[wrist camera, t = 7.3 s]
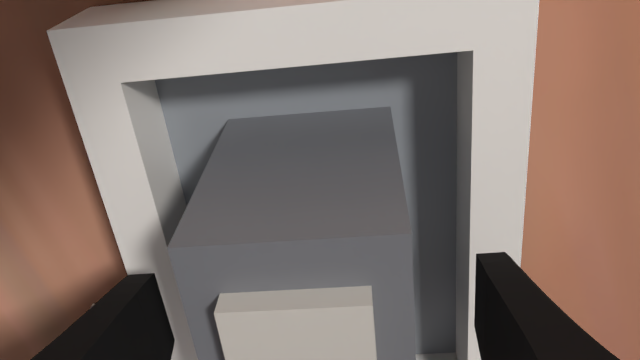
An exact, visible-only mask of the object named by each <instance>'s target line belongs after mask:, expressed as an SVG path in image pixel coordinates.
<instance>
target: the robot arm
mask: <svg viewBox="0 0 640 360" xmlns="http://www.w3.org/2000/svg"><path fill="white" fill-rule="evenodd" d="M474 327H475V332H476V337H477V342H478V347H479V352H480V356H481V360H620V359H618V358H617V357H616V356H614V355H613V354H612V353H610V352H609V351H608V350H607V349H605V348H604V347H603V346H602V345H601V344H599V343H598V342H597V341H596V340H595V339H593V338H592V337H591V336H590V335H589V334H588V333H586V332H585V331H584V330H583V329H582V328H581V327H580V326H578V325H577V324H576V323H575V322H574V321H573V320H572V319H571V318H570V317H569V316H568V315H566V314H565V313H564V312H563V311H562V310H561V309H560V308H559V307H558V306H557V305H556V304H555V303H554V302H553V301H552V300H551V299H550V298H549V297H548V296H547V295H546V294H545V293H544V292H543V291H542V290H541V289H540V288H539V287H538V286H537V285H536V284H535V283H534V282H533V281H532V280H531V279H530V278H529V277H528V276H527V274H526V273H525V272H524V271H523V270H522V269H521V268H520V267H519V266H518V265H517V264H516V262H515V261H514V260H513V259H512V258H511V257H510V256H509V255H508V254H507V253H506V252H496V253H479V254H476V276H475V316H474ZM174 342H175V339H174V336H173V332H172V329H171V326H170V323H169V319H168V316H167V313H166V309H165V306H164V303H163V300H162V296H161V293H160V290H159V286H158V283H157V280H156V277H155V273H148V274H132V275H128V276H127V277H125V278H124V279H123V280H122V281H120V282H119V283H118V284H117V285H116V286H115V287H114V288H112V289H111V290H110V291H109V292H108V293H107V294H106V295H105V296H104V297H102V298H101V299H100V300H99V301H98V302H97V303H96V304H95V305H94V306H92V307H91V308H90V309H89V310H88V311H87V312H86V313H85V314H84V315H82V316H81V317H80V318H79V319H78V320H77V321H76V322H75V323H73V324H72V325H71V326H70V327H69V328H68V329H67V330H66V331H64V332H63V333H62V334H61V335H60V336H59V337H57V338H56V339H55V340H54V341H53V342H51V343H50V344H49V345H48V346H46V347H45V348H44V349H43V350H42V351H40V352H39V353H38V354H37V355H36V356H34V357H33V358H32V359H31V360H171V357H172V352H173V347H174Z"/></svg>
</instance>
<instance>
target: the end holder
mask: <svg viewBox="0 0 640 360" xmlns="http://www.w3.org/2000/svg"><path fill="white" fill-rule="evenodd" d="M538 12H539V0H152V1H143V2H133V3H124V4H114V5H105V6H95V7H89V8H87V9H85V10H84V11H82V12H80V13H78V14H76V15H74V16H73V17H71V18H69V19H67V20H65V21H63V22H62V23H60V24H58V25H56V26H54V27H52V28H51V29H49V30H47V34H48V37H49V40H50V43H51V46H52V49H53V52H54V55H55V58H56V61H57V64H58V67H59V70H60V73H61V76H62V79H63V82H64V85H65V88H66V91H67V94H68V97H69V100H70V103H71V106H72V109H73V112H74V115H75V118H76V121H77V124H78V127H79V130H80V133H81V136H82V139H83V142H84V145H85V148H86V151H87V154H88V157H89V160H90V163H91V166H92V169H93V172H94V175H95V178H96V181H97V184H98V187H99V190H100V193H101V196H102V199H103V202H104V205H105V208H106V211H107V214H108V217H109V220H110V223H111V227H112V230H113V233H114V236H115V239H116V242H117V245H118V248H119V251H120V254H121V257H122V260H123V263H124V266H125V269H126V272H127V275H132V274H148V273H155V277H156V280H157V283H158V286H159V290H160V293H161V296H162V300H163V303H164V306H165V309H166V313H167V316H168V319H169V323H170V326H171V329H172V332H173V336H174V339H175V342H174V347H173V352H172V357H171V360H198V358H197V355H196V351H195V347H194V344H193V340H192V337H191V333H190V329H189V326H188V322H187V318H186V315H185V311H184V308H183V304H182V300H181V297H180V293H179V290H178V286H177V282H176V279H175V275H174V272H173V268H172V264H171V261H170V257H169V254H168V250H167V247H168V245H169V243H170V241H171V239H172V237H173V234H174V232H175V230H176V228H177V226H178V224H179V222H180V220H181V218H182V216H183V214H184V211H185V209H186V207H187V205H188V203H189V201H190V199H191V197H192V195H193V193H194V190H195V188H196V186H197V184H198V182H199V180H200V178H201V176H202V174H203V172H204V170H205V167H206V165H207V163H208V161H209V159H210V157H211V155H212V153H213V151H214V149H215V146H216V144H217V142H218V140H219V138H220V136H221V134H222V132H223V130H224V128H225V126H226V123H227V121H228V119H237V118H250V117H262V116H275V115H288V114H300V113H313V112H326V111H338V110H351V109H364V108H376V107H389V106H390V107H391V113H392V119H393V125H394V131H395V137H396V143H397V149H398V154H399V160H400V166H401V172H402V178H403V184H404V190H405V196H406V202H407V207H408V213H409V219H410V225H411V231H412V251H413V283H414V314H415V346H416V360H481V356H480V352H479V347H478V342H477V337H476V332H475V327H474V316H475V276H476V254H479V253H496V252H506V253H507V254H508V255H509V256H510V257H511V258H512V259H513V260H514V261H515V262H516V264H517V265H518V266H519V267H520V266H521V252H522V238H523V224H524V210H525V196H526V181H527V167H528V153H529V139H530V125H531V111H532V97H533V82H534V68H535V54H536V40H537V26H538Z"/></svg>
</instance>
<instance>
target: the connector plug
mask: <svg viewBox="0 0 640 360" xmlns="http://www.w3.org/2000/svg"><path fill="white" fill-rule="evenodd" d="M167 250H168V254H169V257H170V261H171V264H172V268H173V272H174V275H175V279H176V282H177V286H178V290H179V293H180V297H181V300H182V304H183V308H184V311H185V315H186V318H187V322H188V326H189V329H190V333H191V337H192V340H193V344H194V347H195V351H196V355H197V358H198V360H416V346H415V314H414V283H413V251H412V231H411V225H410V219H409V213H408V207H407V202H406V196H405V190H404V184H403V178H402V172H401V166H400V160H399V154H398V149H397V143H396V137H395V131H394V125H393V119H392V113H391V107H390V106H389V107H376V108H364V109H351V110H338V111H326V112H313V113H300V114H288V115H275V116H262V117H250V118H237V119H228V121H227V123H226V126H225V128H224V130H223V132H222V134H221V136H220V138H219V140H218V142H217V144H216V146H215V149H214V151H213V153H212V155H211V157H210V159H209V161H208V163H207V165H206V167H205V170H204V172H203V174H202V176H201V178H200V180H199V182H198V184H197V186H196V188H195V190H194V193H193V195H192V197H191V199H190V201H189V203H188V205H187V207H186V209H185V211H184V214H183V216H182V218H181V220H180V222H179V224H178V226H177V228H176V230H175V232H174V234H173V237H172V239H171V241H170V243H169V245H168V247H167Z"/></svg>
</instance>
